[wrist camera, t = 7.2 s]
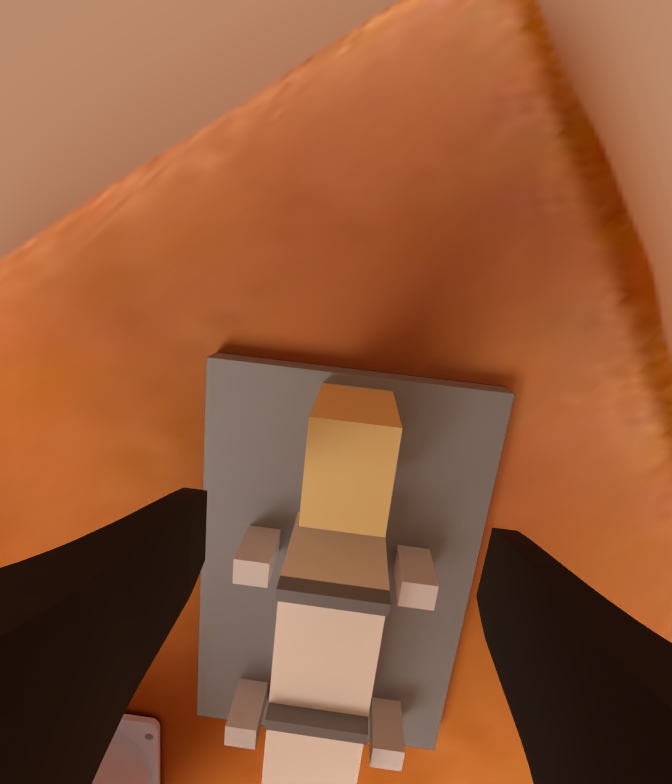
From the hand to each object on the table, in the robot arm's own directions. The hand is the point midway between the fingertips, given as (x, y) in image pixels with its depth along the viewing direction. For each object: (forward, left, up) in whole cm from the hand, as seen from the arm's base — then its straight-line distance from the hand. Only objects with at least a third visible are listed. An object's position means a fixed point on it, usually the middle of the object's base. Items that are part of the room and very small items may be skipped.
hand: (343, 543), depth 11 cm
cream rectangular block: (-10, 0, -8) cm, 13 cm away
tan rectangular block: (0, 0, -8) cm, 8 cm away
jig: (-8, 0, -9) cm, 12 cm away
